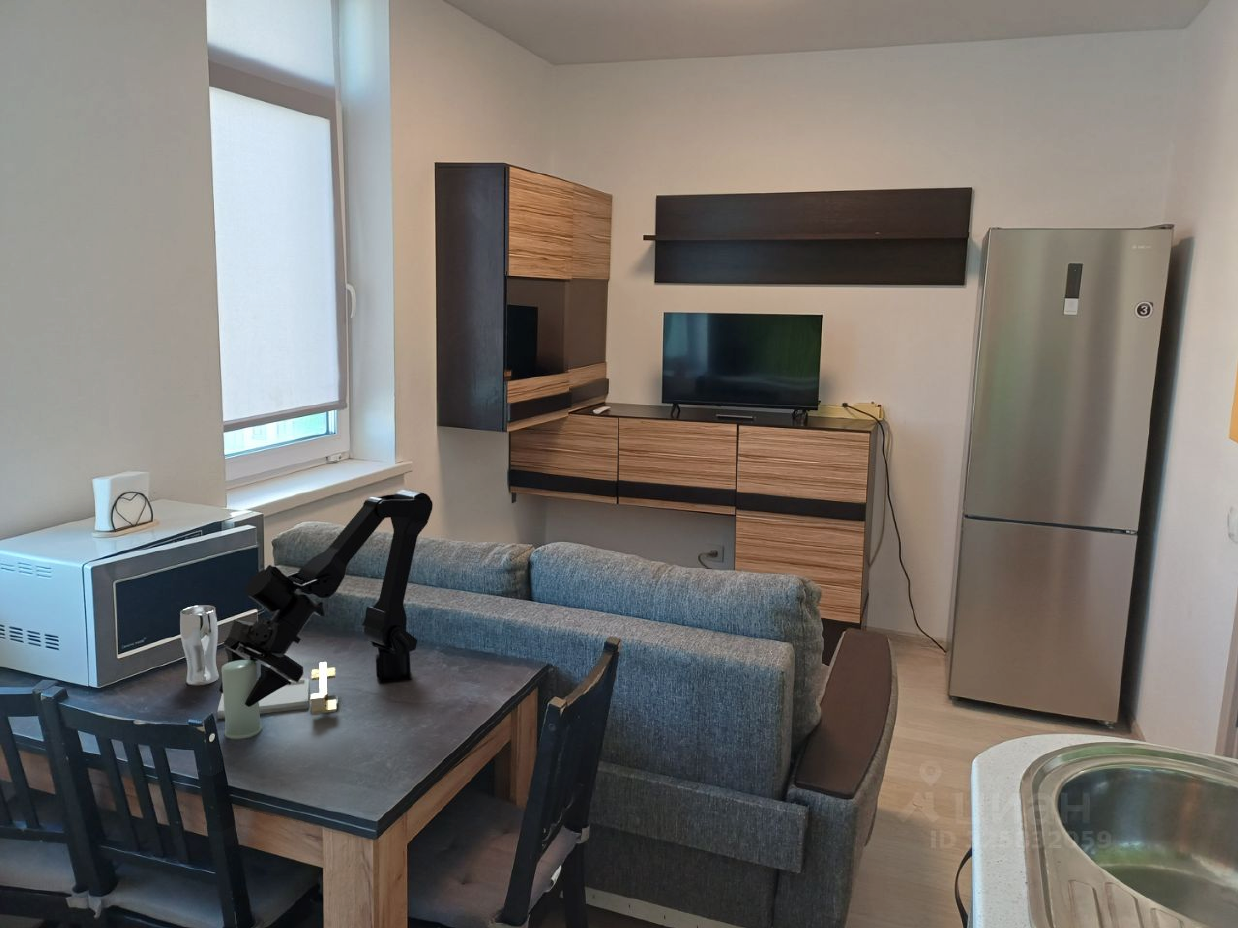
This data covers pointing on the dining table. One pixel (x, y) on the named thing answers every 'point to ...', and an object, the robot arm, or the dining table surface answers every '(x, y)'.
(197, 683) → the beer glass
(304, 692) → the dish
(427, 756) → the dining table surface
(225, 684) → the cup
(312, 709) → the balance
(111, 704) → the dining table surface
